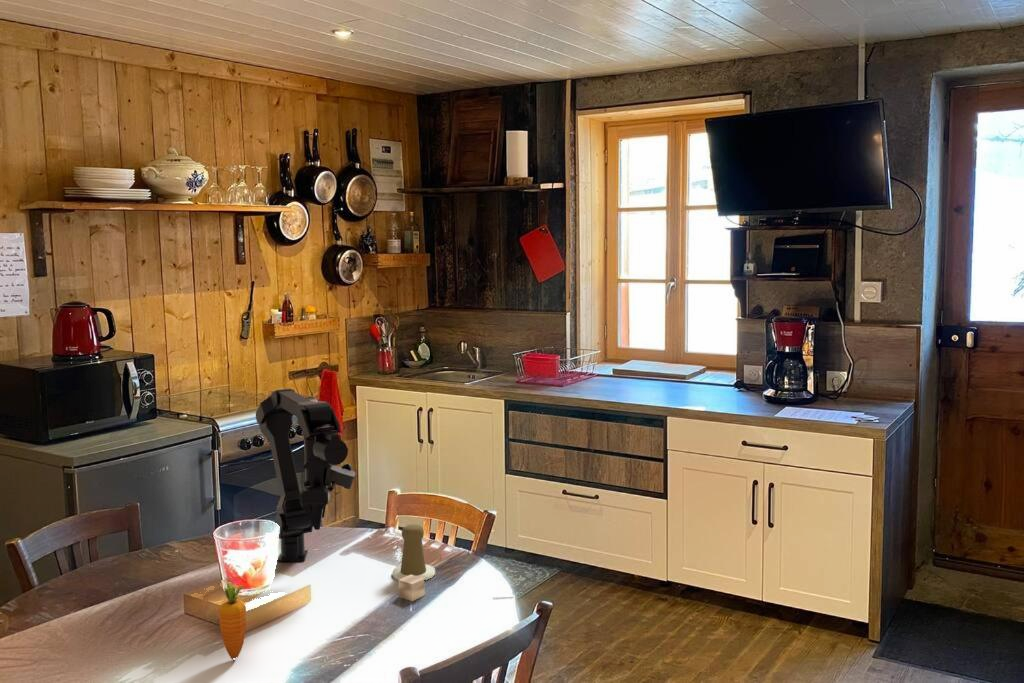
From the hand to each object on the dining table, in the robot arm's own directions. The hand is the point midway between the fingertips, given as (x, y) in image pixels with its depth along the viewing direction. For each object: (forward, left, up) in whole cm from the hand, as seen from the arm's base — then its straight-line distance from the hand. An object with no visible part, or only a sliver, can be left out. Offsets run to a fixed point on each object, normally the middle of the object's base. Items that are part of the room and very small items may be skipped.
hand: (319, 523), depth 208 cm
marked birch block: (+13, +21, -13) cm, 28 cm away
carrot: (+40, -11, -13) cm, 44 cm away
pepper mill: (0, +21, -12) cm, 25 cm away
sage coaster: (0, +22, -13) cm, 25 cm away
